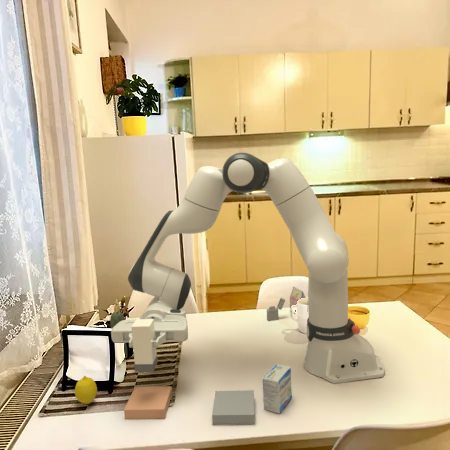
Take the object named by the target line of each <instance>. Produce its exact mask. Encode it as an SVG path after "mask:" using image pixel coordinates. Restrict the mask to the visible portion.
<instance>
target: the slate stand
mask: <svg viewBox="0 0 450 450" xmlns="http://www.w3.org/2000/svg"><path fill="white" fill-rule="evenodd" d="M214 392H215V393H214V398H213V399H214V400H213V405H212V414H211V417H212V418H211V419H212V420H211V422H212V425H214V426H215V425H217V426H218V425H227V426H228V425H229V426H230V425H255V424H256V421H255V419H256V418H255V417H256V416H255V389H253V390H250V389H249V390H215V391H214Z"/></svg>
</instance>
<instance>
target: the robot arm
mask: <svg viewBox="0 0 450 450" xmlns="http://www.w3.org/2000/svg"><path fill="white" fill-rule="evenodd" d="M258 190H262V191H264V192H265V193H266V194H267V195H268V196H269V198H270V199H271V201H272V203H273V205H274V206H275V209H276V210H277V211H278V214H279V215H280V217H281V218H282V220H283V221H284V224H285V225H286V227H287V229H288V230H289V233H290V235H291V237H292V239H293V241H294V243H295V245H296V247H297V250H298V251H299V254H300V256H301V258H302V261H303V262H304V264H305V266H306V268H307V270H308V284H307V286H308V289H307V290H308V291H307V292H308V293H307V295H308V296H307V312H308V317H307V321H306V336H307V346H306V347H307V348H306V354H305V357H304V362H303V366H304V369H305V370H307V372H309V373H310V374H312V375H314V376H317V377H320V378H321V379H325V380H327V381H328V382H330V383H333V384H339V383H346V382H347V383H348V382H355V381H362V380H363V381H364V380H369V379H377V378H378V379H379V378H383V377H384V376H385V373H386V372H385V371H386V370H385V366H384V363H383V361H382V360H381V358H380V357H379V356H378V355H376V353H375V350H374V347H373V346H372V344H371V342H370V341H368V339H366V338H365V337H363V336H362V335H360V333H361V330H360V328H359V325H356V323H355V322H354V321H353V320H352V319H351V317H349V289H348V288H349V281H348V275H349V273H348V268H349V263H350V262H349V251H348V245H347V243H346V241H345V240H344V238H343V237H342V236H341V235H340V234H338V233H337V232H336V230H335V229H334V227H333V225H332V223H331V221H330V219H329V217H328V215H327V213H326V211H325V209H324V207H323V206H322V204H321V202H320V201H319V199H318V197H317V195H316V193H315V192H314V190H313V189H312V186H310V183H309V182H308V181H307V179H306V178H305V176H304V174H303V173H302V171H300V169H299V168H298V166H297V165H295V164H294V162H293V161H292V160H290V159H289V158H286V157H281V158H277V159H274V160H271V161H270V162H266V161H264V160H262V159H260V158H258V157H257V156H255V155H254V154H251V153H248V152H236V153H234V154H232V155H231V156H229V157H228V158H227V159H226V160H225V162H224V164H223V166H222V167H216V166H213V165H203V166H200V167H199V168H198V169H197V171H195V174H194V175H193V176H192V179H191V181H190V182H189V184H188V187H187V190H186V191H185V194H184V196H183V199H182V201H181V202H180V204H179V205H178V206H177V208H175V209H174V210H168V211H167V212H166V213H164V216H162V218H161V219H160V221H159V223H158V224H157V226H156V228H155V229H154V231H153V232H152V234H151V236H150V238H149V240H148V241H147V243H146V245H145V247H144V248H143V250H142V252H141V253H140V255H139V257H138V258H137V260H136V261H135V262H134V263H133V265H132V266H131V267H130V268H129V269H130V270H129V271H128V277H127V281H128V284H129V286H130V287H131V289H132V290H133V291H136V292H139V293H143V294H147V295H151V296H153V298H152V299H151V300H150V301H149V303H148V305H147V306H146V308H145V309H144V311H143V313H142V314H141V316H140V318H139V319H154V328H155V338H154V339H153V341H152V344H153V347H156V348H159V347H160V345H162V344H164V343H173V342H175V343H177V342H178V343H181V342H183V343H184V342H186V341H187V340H188V339H189V331H188V330H189V329H188V327H189V326H188V319H187V314H186V311H185V310H183V308H184V307H185V304H186V302H187V299H188V297H189V295H190V292H191V287H192V283H191V279H190V276H189V275H188V273H187V272H185V271H181V270H179V269H176V268H174V267H170V266H168V265H165V264H162V263H160V262H157V260H156V259H155V257H156V256H157V254H158V253H159V251H160V249H161V248H162V246H163V244H164V243H165V241H166V240H167V238H168V237H169V236H172V235H176V234H187V235H188V234H199V233H204V232H206V231H208V230H210V229H211V228H212V227H213V226H214V224H215V222H216V221H217V219H218V216H219V214H220V211H221V209H222V206H223V203H224V201H225V199H226V197H227V196H228V195H229V194H230V193H231V192H236V193H239V194H249V193H252V192H254V191H258ZM181 309H182V310H181ZM136 319H137V318H136ZM136 319H124V320H122V321H120V322H119V323H117V324H116V325H115V326H114V327H113V328H112V330H111V329H110V335H111V341H112V342H113V343H114V342H115V343H126V344H127V343H128V347H129V349H130V348H132V349H133V339H132V328H131V327H132V325H133V324H134V322H135V320H136Z"/></svg>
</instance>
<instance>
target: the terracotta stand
mask: <svg viewBox="0 0 450 450" xmlns="http://www.w3.org/2000/svg"><path fill="white" fill-rule="evenodd" d="M172 387H173V386H170V385H167V386H166V385H165V386H163V385H162V386H161V385H160V386H135V387H133V390H132V393H131V394H130V397H129V399H127V400H128V401H127V403H126V405H125V407H124V409H123V412H124V413H123V414H124V419H125V420H143V419H144V420H148V419H150V420H151V419H152V420H153V419H154V420H155V419H156V420H158V419H166V417H167V413H168V409H169V408H170V407H169V406H170V403H171V401H170V400H172V398H173V388H172ZM171 397H172V398H171Z"/></svg>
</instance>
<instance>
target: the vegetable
mask: <svg viewBox="0 0 450 450" xmlns="http://www.w3.org/2000/svg"><path fill="white" fill-rule="evenodd" d="M109 320H110V321H109V322H110V329H111V328H113V327H114V326H115V325H116V324H117V323H119V322H120V321H122V320H125V316H124V313H122V311H121V306H120V302H119V301H118V299H116V298H115V302H114V307H113V312H112V313H111V315H110V319H109ZM127 346H128V345H127V343H125V344H124V347H125V355H126V357H128V347H127Z"/></svg>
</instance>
